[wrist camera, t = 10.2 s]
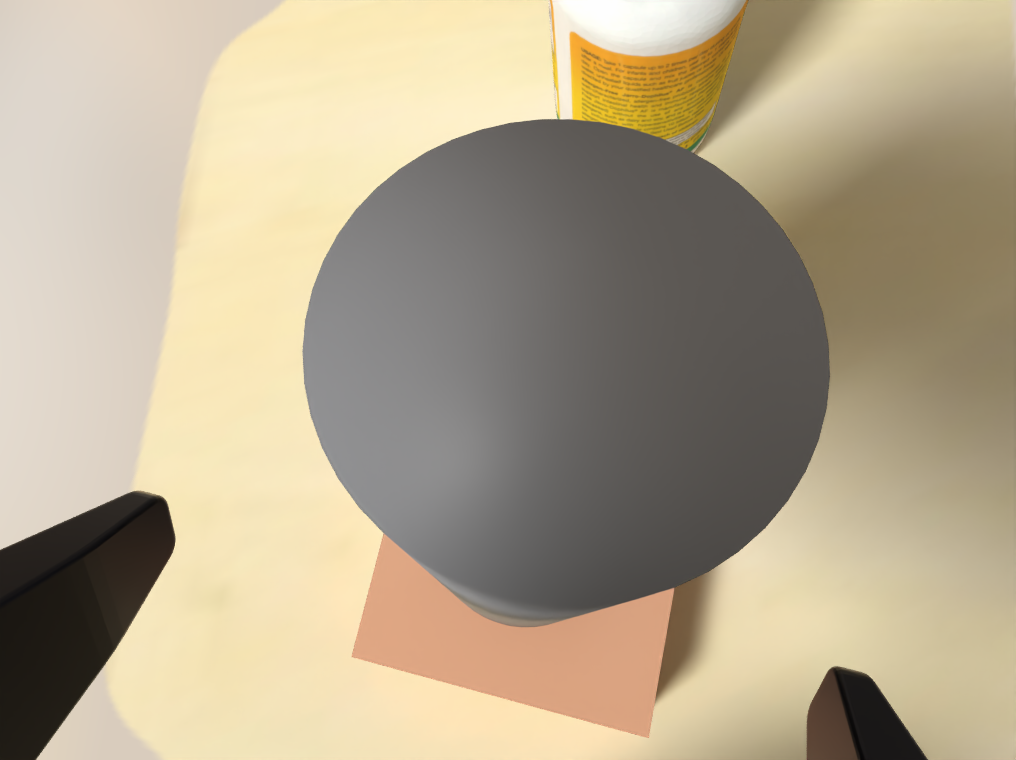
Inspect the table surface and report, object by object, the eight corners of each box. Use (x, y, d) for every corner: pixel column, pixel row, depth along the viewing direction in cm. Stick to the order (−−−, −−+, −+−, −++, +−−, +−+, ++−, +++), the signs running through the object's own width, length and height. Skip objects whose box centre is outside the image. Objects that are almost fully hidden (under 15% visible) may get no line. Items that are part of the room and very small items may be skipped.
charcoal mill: (590, 654, 18) (777, 690, 6) (405, 591, 18) (212, 501, 6) (638, 469, 20) (864, 190, 7) (467, 416, 20) (412, 70, 8)
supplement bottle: (530, 92, 25) (497, -171, 16) (662, 23, 26) (703, -279, 16) (604, 211, 24) (613, -3, 15) (743, 137, 24) (839, -122, 15)
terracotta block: (640, 712, 21) (648, 737, 18) (382, 643, 22) (351, 656, 19) (687, 446, 22) (701, 430, 20) (445, 396, 24) (425, 374, 21)
